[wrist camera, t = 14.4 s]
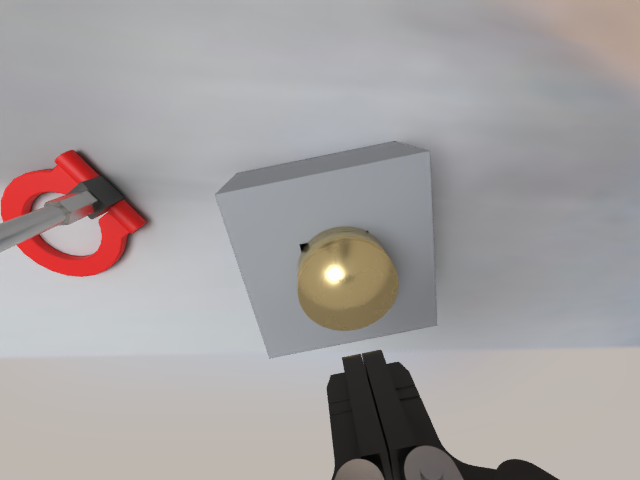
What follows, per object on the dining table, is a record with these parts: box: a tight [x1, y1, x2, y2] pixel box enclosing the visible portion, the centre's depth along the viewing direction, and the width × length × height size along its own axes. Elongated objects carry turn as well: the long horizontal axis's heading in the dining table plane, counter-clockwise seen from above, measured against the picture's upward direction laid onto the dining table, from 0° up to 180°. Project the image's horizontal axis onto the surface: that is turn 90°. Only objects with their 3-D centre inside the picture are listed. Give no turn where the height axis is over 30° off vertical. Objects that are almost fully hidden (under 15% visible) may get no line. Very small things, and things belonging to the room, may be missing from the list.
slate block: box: [215, 141, 437, 358], centre depth 22 cm, size 12×12×6 cm
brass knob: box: [297, 226, 399, 331], centre depth 21 cm, size 6×6×8 cm
